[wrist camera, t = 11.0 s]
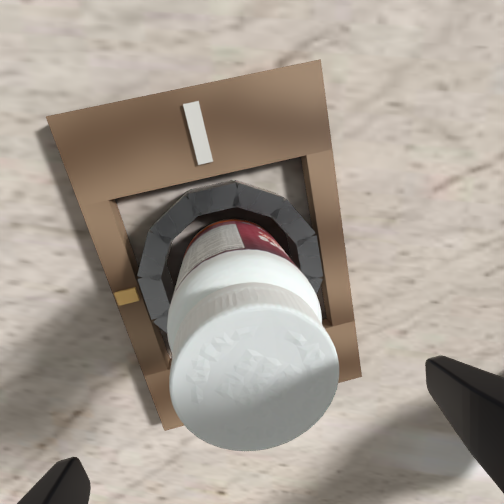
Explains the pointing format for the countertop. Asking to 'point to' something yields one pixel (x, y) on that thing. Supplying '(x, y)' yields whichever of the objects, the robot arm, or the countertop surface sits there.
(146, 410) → the countertop surface
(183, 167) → the socket board
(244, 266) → the pill bottle
